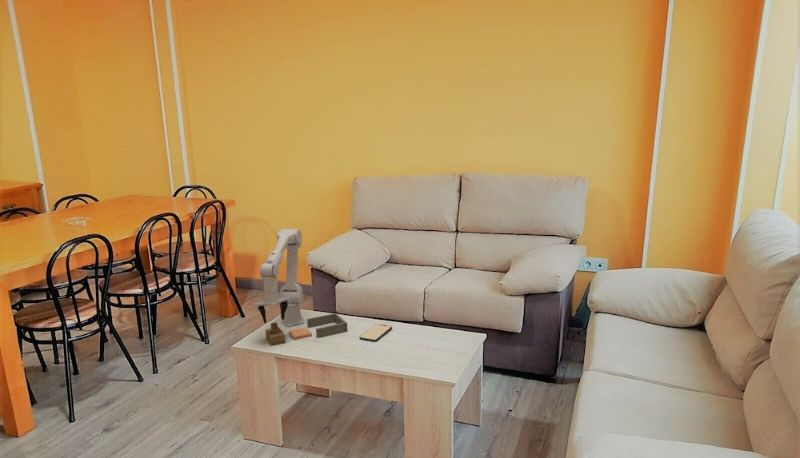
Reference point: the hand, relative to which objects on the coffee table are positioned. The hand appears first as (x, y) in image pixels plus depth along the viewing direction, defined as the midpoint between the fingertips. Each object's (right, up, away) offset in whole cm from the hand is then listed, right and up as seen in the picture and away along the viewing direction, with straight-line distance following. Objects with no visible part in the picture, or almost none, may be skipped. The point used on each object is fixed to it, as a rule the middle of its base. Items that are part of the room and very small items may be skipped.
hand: (273, 320), depth 253 cm
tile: (+10, -8, +7) cm, 15 cm away
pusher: (0, -9, +2) cm, 9 cm away
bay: (+21, -6, +12) cm, 25 cm away
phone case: (+44, -7, +5) cm, 45 cm away
